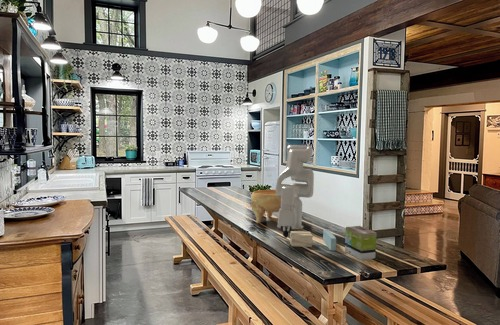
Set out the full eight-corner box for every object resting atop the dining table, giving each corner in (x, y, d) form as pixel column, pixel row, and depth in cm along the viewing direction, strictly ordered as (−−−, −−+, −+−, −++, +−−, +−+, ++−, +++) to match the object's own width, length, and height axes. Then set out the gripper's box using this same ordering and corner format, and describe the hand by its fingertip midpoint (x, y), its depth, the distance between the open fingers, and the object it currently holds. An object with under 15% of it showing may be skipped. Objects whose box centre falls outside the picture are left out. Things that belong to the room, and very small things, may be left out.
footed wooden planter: (294, 217, 296) (295, 188, 294) (295, 227, 261) (297, 195, 260) (252, 214, 299) (253, 186, 298) (248, 224, 265) (249, 193, 263)
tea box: (343, 251, 210) (345, 226, 209) (358, 250, 213) (359, 225, 212) (360, 260, 196) (362, 233, 195) (375, 258, 199) (377, 231, 198)
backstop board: (322, 240, 231) (323, 229, 231) (327, 240, 231) (328, 229, 231) (330, 250, 211) (331, 238, 211) (335, 250, 211) (336, 238, 211)
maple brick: (290, 242, 225) (290, 231, 224) (309, 243, 225) (310, 231, 224) (291, 246, 217) (292, 234, 216) (311, 247, 217) (312, 235, 216)
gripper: (298, 206, 223) (297, 236, 224) (273, 205, 223) (272, 235, 224) (300, 208, 215) (298, 239, 217) (275, 207, 215) (273, 238, 216)
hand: (285, 237), depth 220 cm, fingers closed
